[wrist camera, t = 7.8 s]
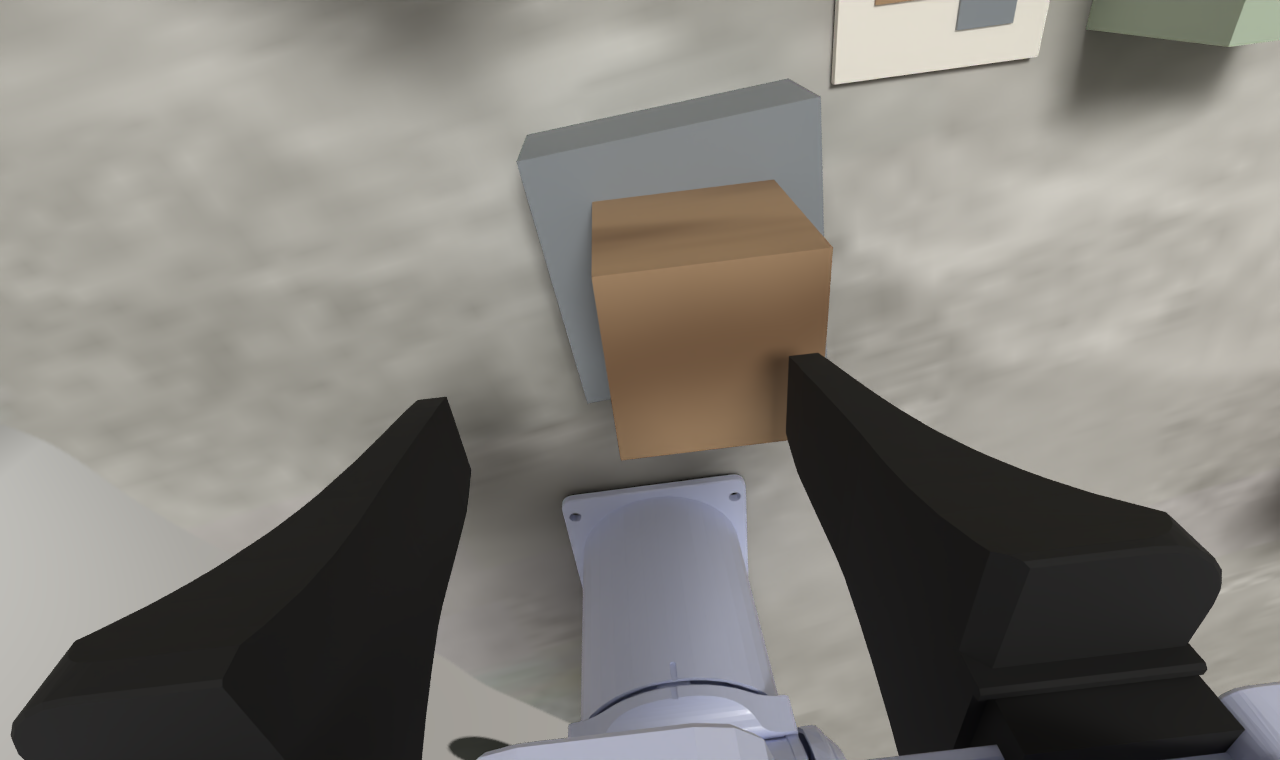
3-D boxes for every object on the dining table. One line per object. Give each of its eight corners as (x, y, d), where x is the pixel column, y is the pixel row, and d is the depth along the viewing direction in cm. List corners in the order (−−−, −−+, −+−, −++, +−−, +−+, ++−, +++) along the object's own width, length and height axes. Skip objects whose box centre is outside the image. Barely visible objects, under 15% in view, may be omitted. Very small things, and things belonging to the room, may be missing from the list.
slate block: (797, 308, 23) (826, 357, 20) (588, 349, 24) (587, 403, 21) (784, 76, 19) (820, 96, 16) (527, 132, 19) (516, 161, 16)
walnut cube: (771, 337, 20) (819, 436, 16) (615, 357, 20) (620, 460, 16) (774, 179, 17) (833, 247, 13) (592, 202, 17) (591, 277, 13)
